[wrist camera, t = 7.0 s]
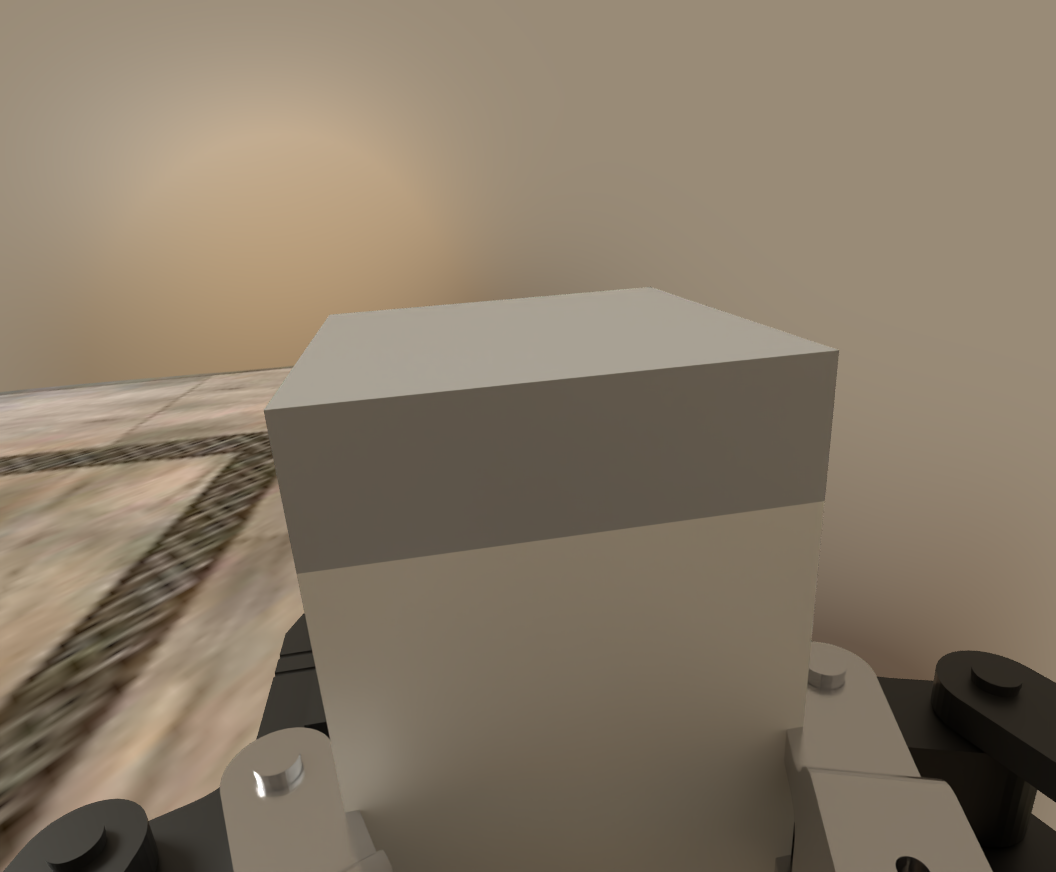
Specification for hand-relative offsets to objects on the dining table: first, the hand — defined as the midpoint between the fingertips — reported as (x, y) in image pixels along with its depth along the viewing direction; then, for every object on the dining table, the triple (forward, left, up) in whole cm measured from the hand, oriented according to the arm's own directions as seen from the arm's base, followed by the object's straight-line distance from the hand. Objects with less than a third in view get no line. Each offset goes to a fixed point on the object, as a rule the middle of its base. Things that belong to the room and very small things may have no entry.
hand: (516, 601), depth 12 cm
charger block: (0, -3, -9) cm, 9 cm away
